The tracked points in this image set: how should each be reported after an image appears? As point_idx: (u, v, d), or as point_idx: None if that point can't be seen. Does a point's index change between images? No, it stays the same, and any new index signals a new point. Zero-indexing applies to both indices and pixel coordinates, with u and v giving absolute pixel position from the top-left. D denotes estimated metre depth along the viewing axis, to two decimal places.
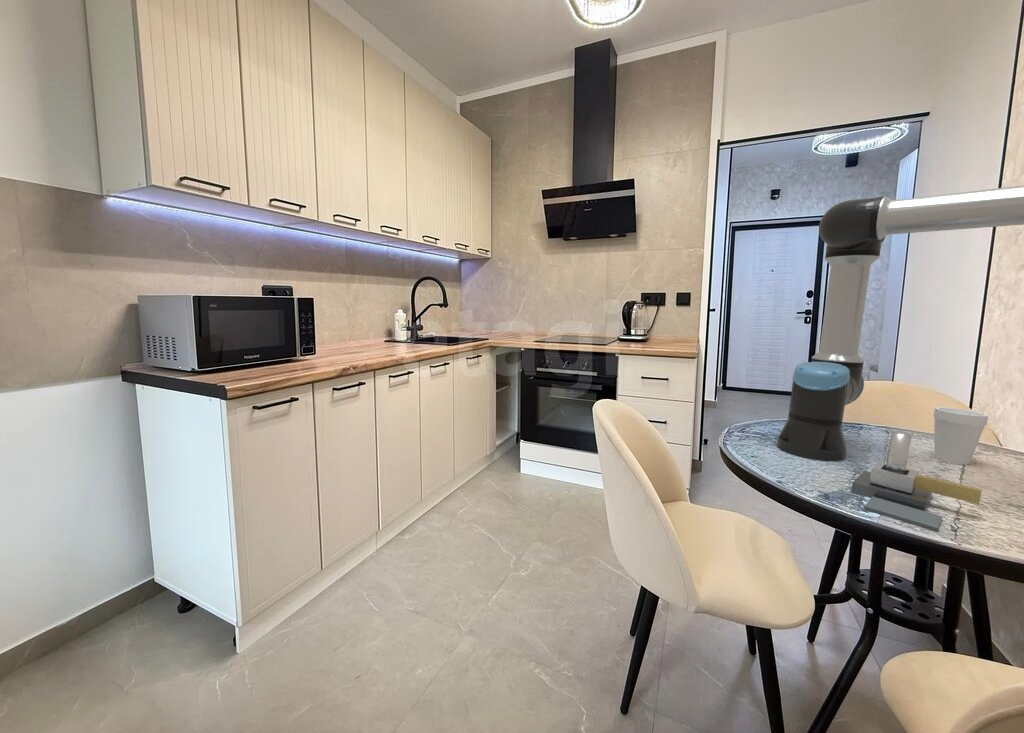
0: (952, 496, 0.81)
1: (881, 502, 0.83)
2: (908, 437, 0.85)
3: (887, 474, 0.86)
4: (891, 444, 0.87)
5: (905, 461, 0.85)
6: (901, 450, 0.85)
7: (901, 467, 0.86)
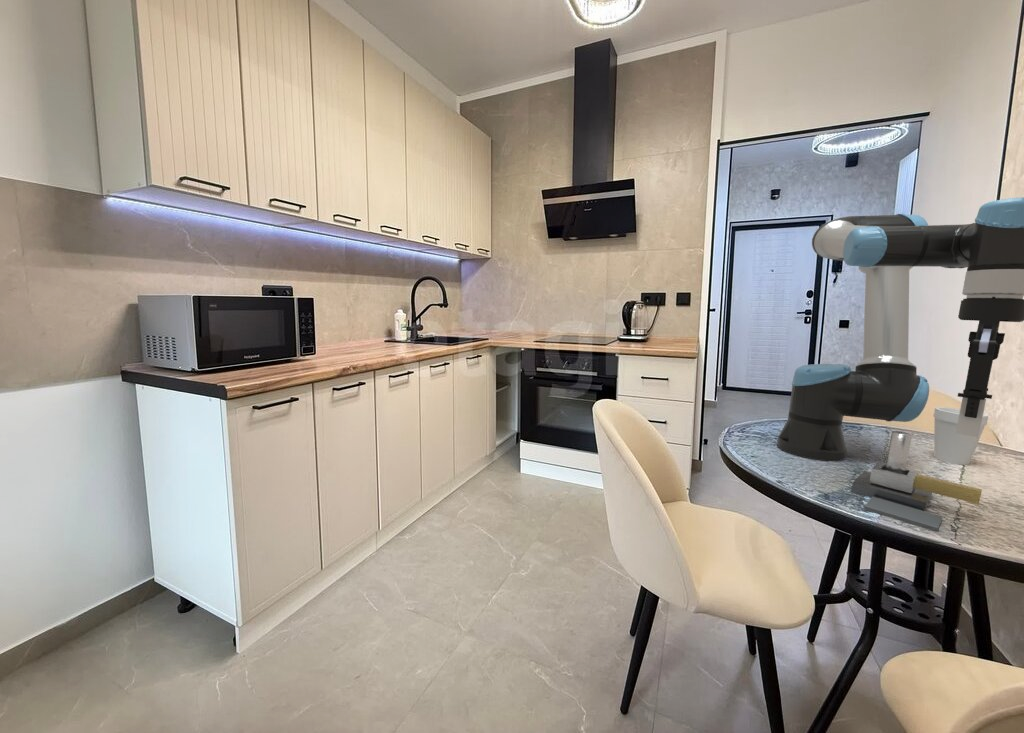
0: (952, 496, 0.81)
1: (881, 502, 0.83)
2: (909, 437, 0.85)
3: (887, 474, 0.86)
4: (891, 444, 0.87)
5: (905, 461, 0.85)
6: (901, 450, 0.85)
7: (901, 467, 0.86)
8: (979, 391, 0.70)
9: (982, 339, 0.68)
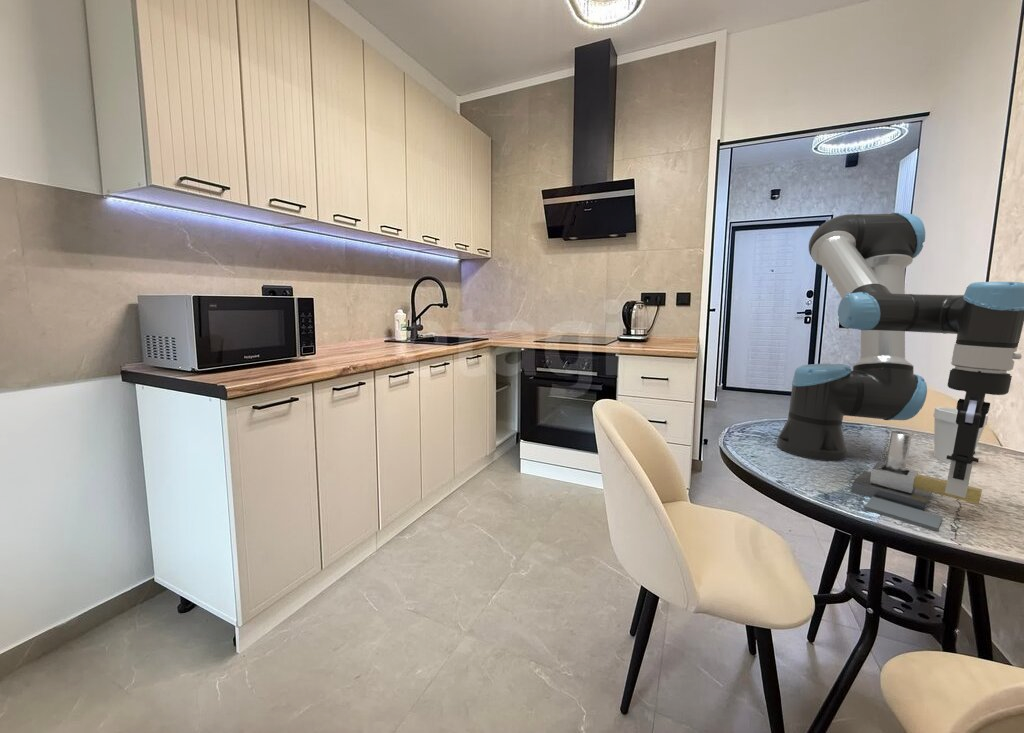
0: (952, 496, 0.81)
1: (881, 502, 0.83)
2: (908, 437, 0.85)
3: (887, 474, 0.86)
4: (891, 444, 0.87)
5: (905, 461, 0.85)
6: (901, 450, 0.85)
7: (901, 467, 0.86)
8: (966, 457, 0.76)
9: (968, 411, 0.74)
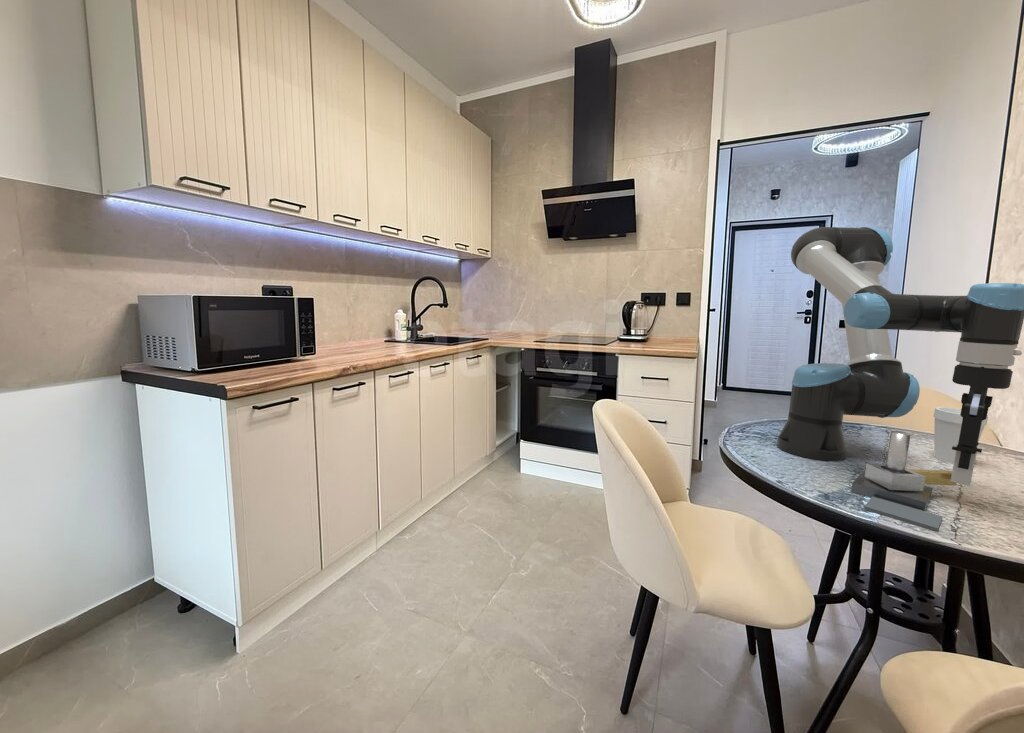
0: (939, 483, 0.87)
1: (881, 502, 0.83)
2: (908, 437, 0.85)
3: (905, 478, 0.84)
4: (890, 444, 0.87)
5: (905, 461, 0.85)
6: (900, 450, 0.85)
7: (901, 467, 0.86)
8: (970, 447, 0.81)
9: (972, 404, 0.79)
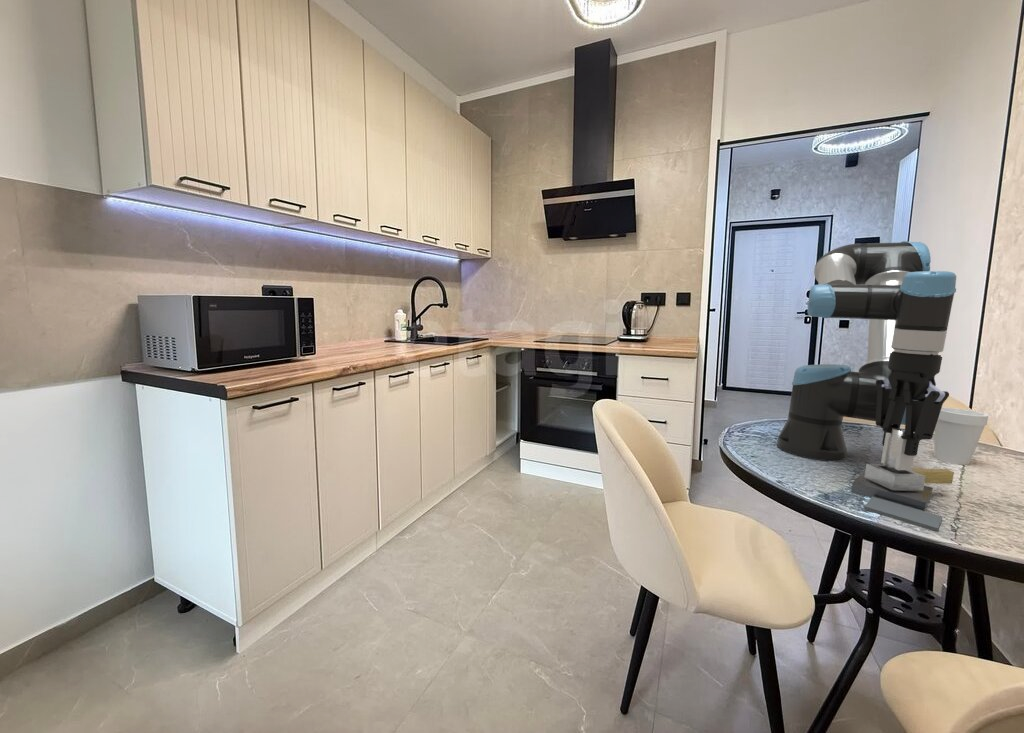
0: (936, 482, 0.87)
1: (881, 502, 0.83)
2: None
3: (906, 478, 0.84)
4: (891, 441, 0.87)
5: None
6: None
7: None
8: (928, 434, 0.81)
9: (938, 390, 0.79)
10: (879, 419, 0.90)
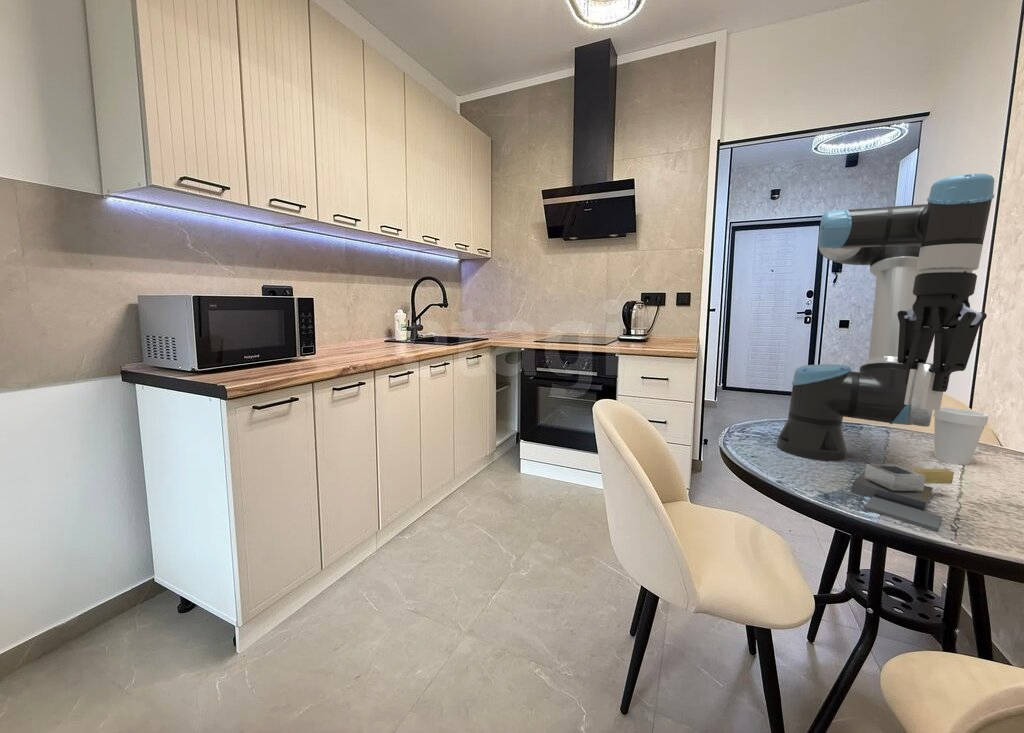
0: (936, 482, 0.87)
1: (881, 502, 0.83)
2: None
3: (906, 478, 0.84)
4: (917, 376, 0.76)
5: None
6: None
7: None
8: (960, 365, 0.70)
9: (973, 311, 0.68)
10: (902, 355, 0.79)
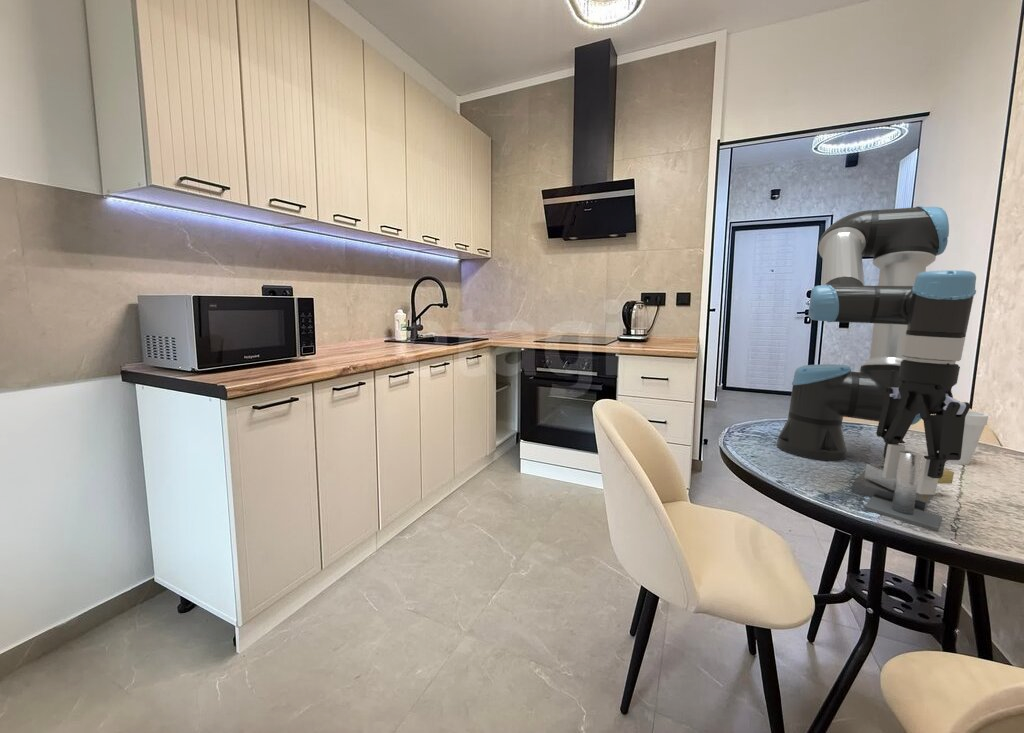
0: None
1: (881, 502, 0.83)
2: (918, 457, 0.77)
3: None
4: (899, 465, 0.79)
5: (915, 484, 0.77)
6: (910, 471, 0.77)
7: (911, 490, 0.77)
8: (955, 454, 0.71)
9: (957, 401, 0.70)
10: (881, 430, 0.83)
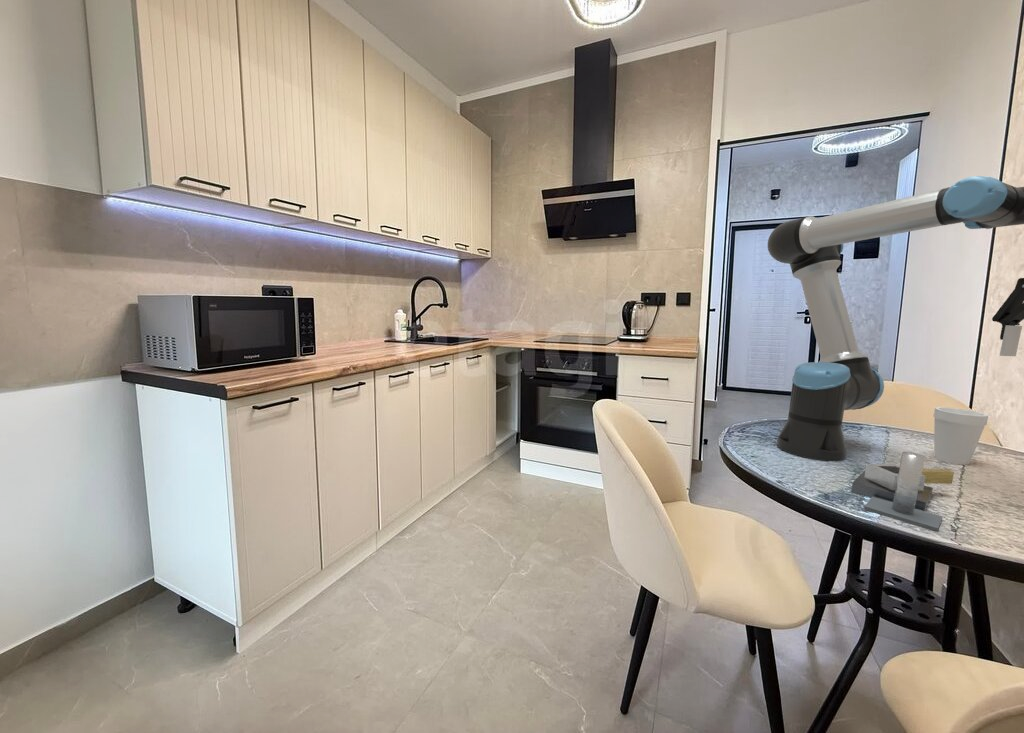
0: (936, 482, 0.87)
1: (881, 502, 0.83)
2: (921, 459, 0.76)
3: None
4: (902, 466, 0.78)
5: (917, 485, 0.77)
6: (913, 473, 0.77)
7: (913, 492, 0.77)
8: None
9: None
10: (999, 315, 0.93)
